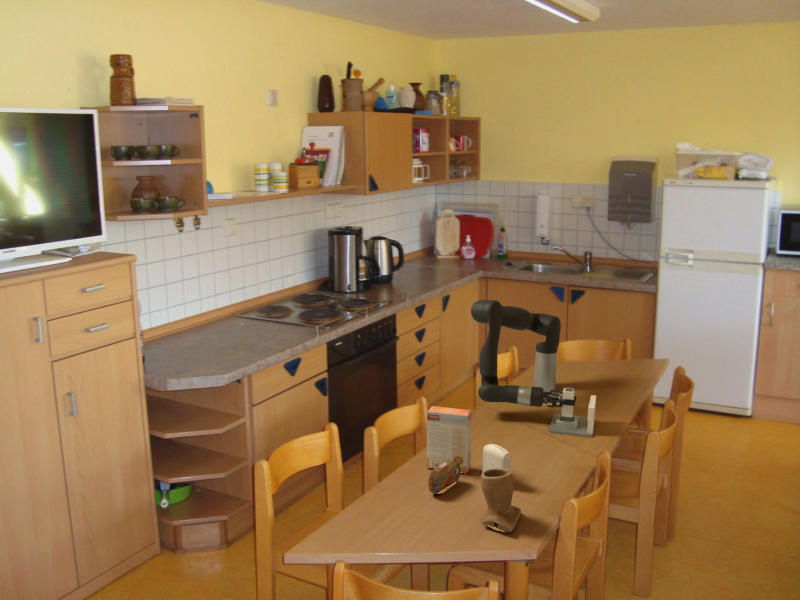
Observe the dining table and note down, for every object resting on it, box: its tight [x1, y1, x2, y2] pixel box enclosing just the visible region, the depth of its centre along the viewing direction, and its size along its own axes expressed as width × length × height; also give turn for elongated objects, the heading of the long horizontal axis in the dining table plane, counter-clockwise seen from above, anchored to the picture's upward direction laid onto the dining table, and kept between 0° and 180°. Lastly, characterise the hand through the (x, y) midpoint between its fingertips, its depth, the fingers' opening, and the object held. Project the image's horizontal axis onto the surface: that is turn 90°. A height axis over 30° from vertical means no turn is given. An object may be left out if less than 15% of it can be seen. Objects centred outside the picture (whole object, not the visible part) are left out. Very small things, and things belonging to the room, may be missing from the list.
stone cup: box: [480, 468, 522, 533], centre depth 227 cm, size 15×12×15 cm
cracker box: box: [426, 405, 473, 474], centre depth 260 cm, size 14×6×21 cm, turn 71°
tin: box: [428, 460, 461, 495], centre depth 247 cm, size 15×3×8 cm, turn 143°
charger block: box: [561, 386, 575, 417], centre depth 297 cm, size 4×4×11 cm
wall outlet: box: [548, 394, 597, 438], centre depth 298 cm, size 18×16×11 cm
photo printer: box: [482, 443, 512, 473], centre depth 252 cm, size 10×4×12 cm, turn 39°
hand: (575, 400), depth 296 cm, fingers closed on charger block, 4 cm apart
